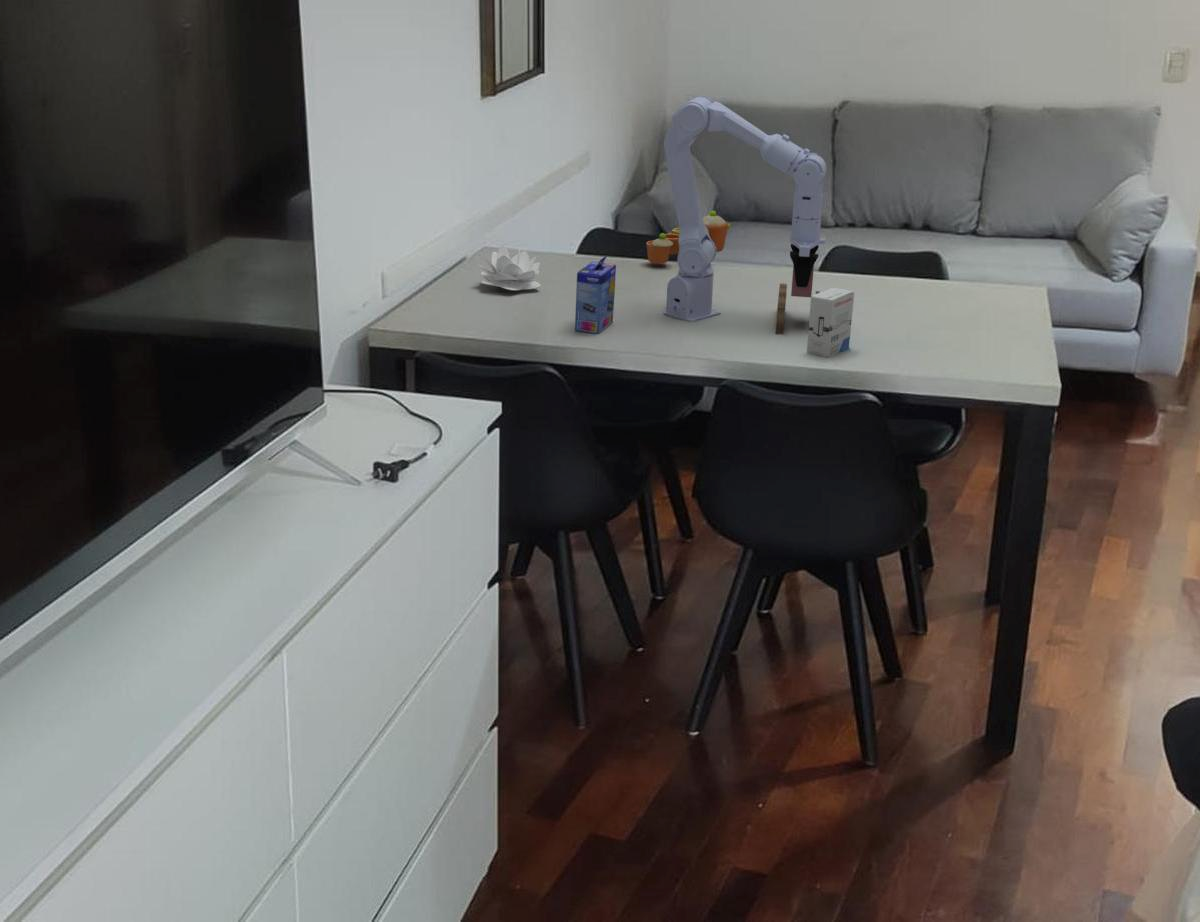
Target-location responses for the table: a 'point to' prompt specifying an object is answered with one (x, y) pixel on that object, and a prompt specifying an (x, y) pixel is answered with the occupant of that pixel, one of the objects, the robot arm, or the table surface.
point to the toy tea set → (669, 242)
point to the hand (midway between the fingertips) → (801, 282)
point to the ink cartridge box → (595, 297)
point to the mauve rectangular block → (802, 290)
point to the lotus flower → (511, 271)
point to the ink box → (830, 322)
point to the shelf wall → (781, 308)
